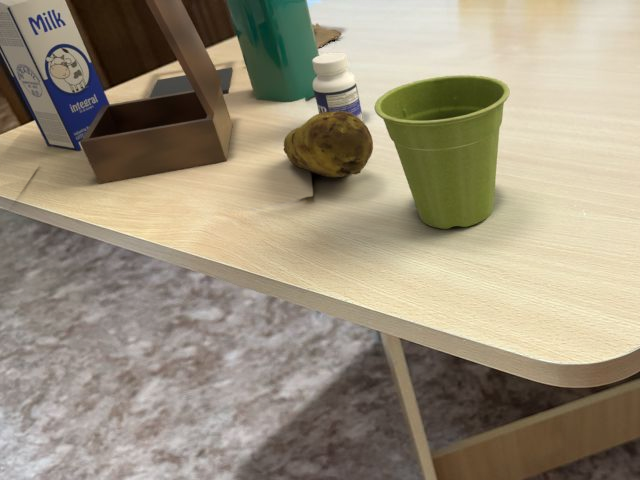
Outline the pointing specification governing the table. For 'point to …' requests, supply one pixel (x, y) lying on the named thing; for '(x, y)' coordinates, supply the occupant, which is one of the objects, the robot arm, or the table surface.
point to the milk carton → (51, 69)
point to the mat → (187, 84)
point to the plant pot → (447, 144)
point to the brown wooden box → (156, 136)
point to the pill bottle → (335, 85)
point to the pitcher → (276, 47)
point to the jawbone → (324, 35)
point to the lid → (188, 50)
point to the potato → (330, 144)
